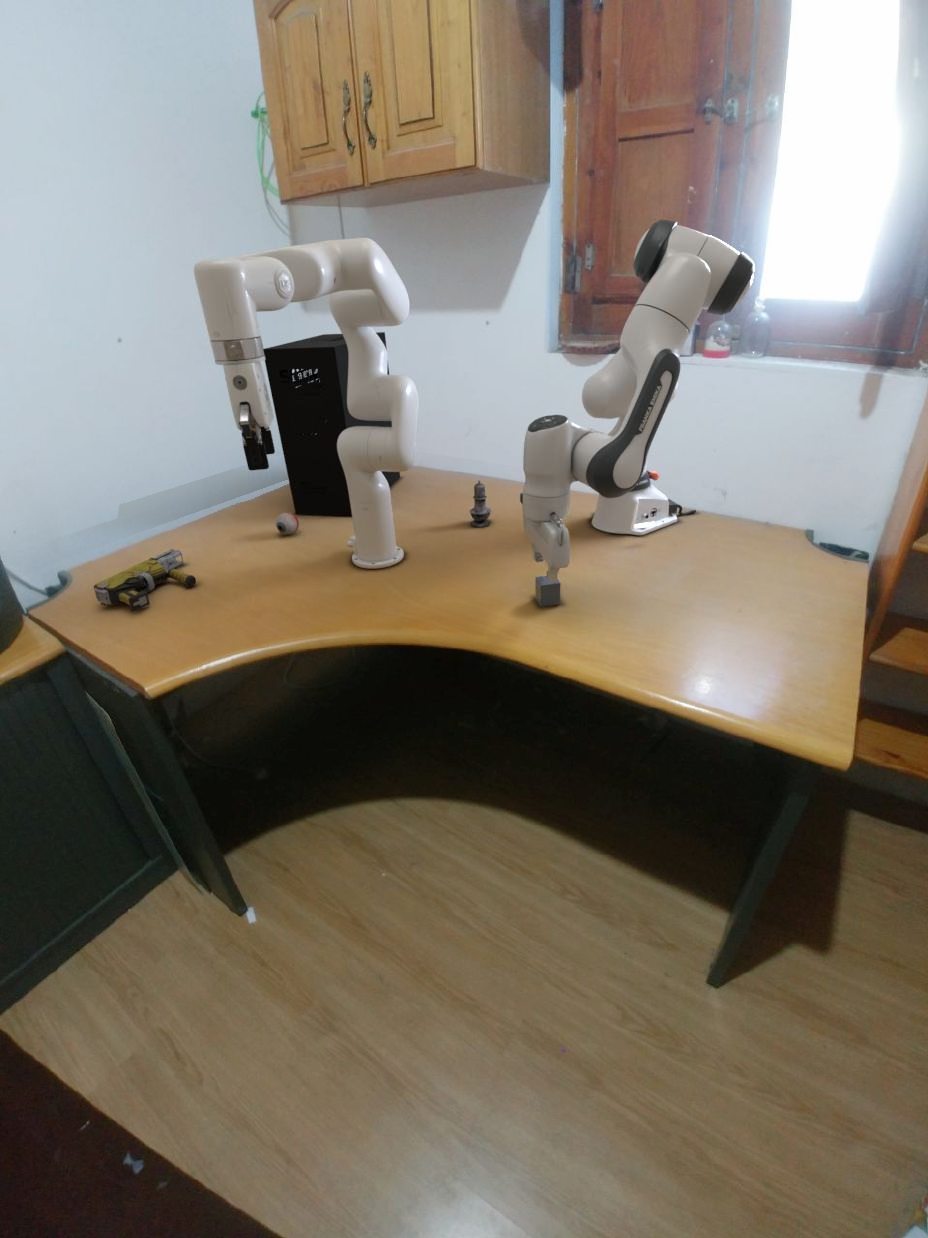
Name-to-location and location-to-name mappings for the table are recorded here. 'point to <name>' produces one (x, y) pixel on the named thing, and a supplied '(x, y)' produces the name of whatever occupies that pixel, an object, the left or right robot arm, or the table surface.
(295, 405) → the black tall box
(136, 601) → the toy gun
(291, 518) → the eyeball
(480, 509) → the grey chess piece
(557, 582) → the cube
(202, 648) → the table surface
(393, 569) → the table surface
